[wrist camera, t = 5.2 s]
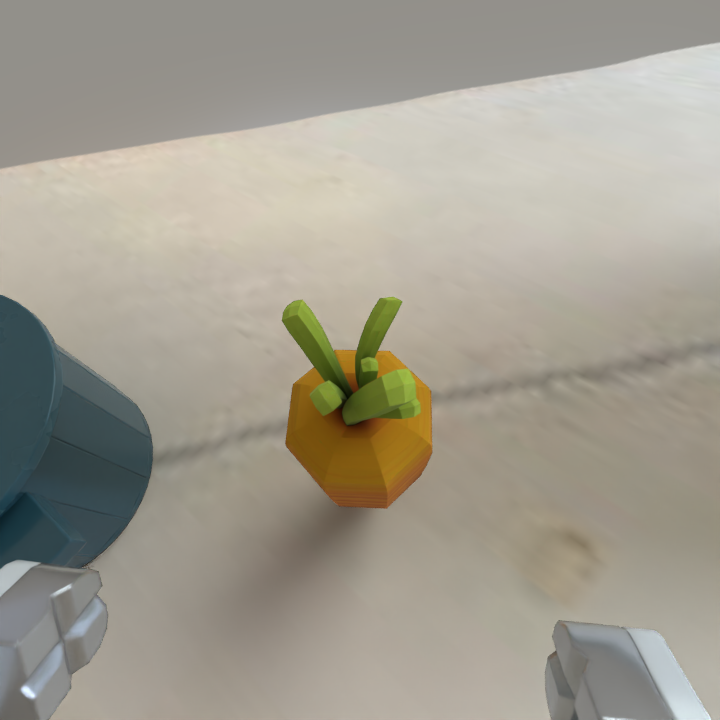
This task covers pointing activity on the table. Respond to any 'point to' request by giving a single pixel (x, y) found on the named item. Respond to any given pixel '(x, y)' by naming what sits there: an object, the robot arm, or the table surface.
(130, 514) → the pot
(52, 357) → the pot lid
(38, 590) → the robot arm
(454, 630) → the table surface
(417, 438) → the carrot
